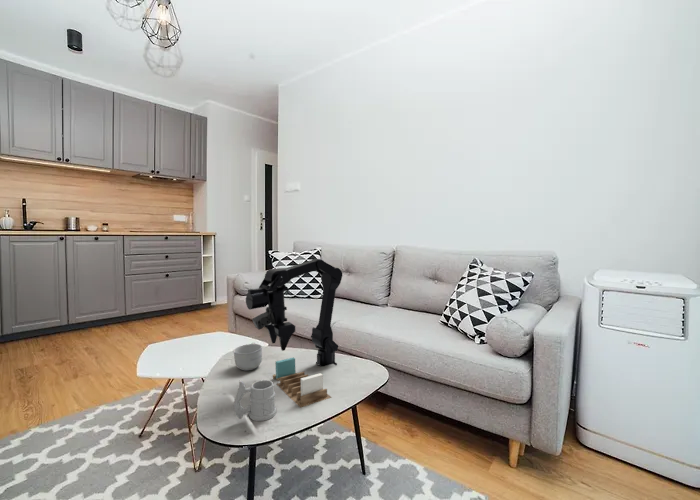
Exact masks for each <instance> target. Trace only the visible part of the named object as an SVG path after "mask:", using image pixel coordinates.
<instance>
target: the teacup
mask: <svg viewBox="0 0 700 500" xmlns="http://www.w3.org/2000/svg"><path fill="white" fill-rule="evenodd" d="M262 349H263V347H262V345H261V344H259V343H256V342H252V343H248V344H242V345H239V346H237V347H235V348H234V349H233V351H232V352H233V356H234V358H233V359H234V364H235V366H236V368H238V369H240V370H241V371H251V370H255V369H257V368H258V367H259V366H260V365H261V363H262V361H263V350H262Z"/></svg>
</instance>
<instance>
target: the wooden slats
mask: <svg viewBox="0 0 700 500" xmlns="http://www.w3.org/2000/svg"><path fill="white" fill-rule="evenodd" d="M296 373H297V372H295V374H296ZM292 375H293V374H292ZM288 376H289V375H288ZM284 377H285V376H284ZM280 378H281V377H280ZM280 378H276V373H275V374H272V380H276V381H279V382H280Z"/></svg>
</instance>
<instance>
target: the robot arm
mask: <svg viewBox="0 0 700 500" xmlns="http://www.w3.org/2000/svg"><path fill="white" fill-rule="evenodd" d="M312 272H317V274H319V275H320V276H321V283H322V284H321V285H322V287H323V291H322V292H323V293H322V299H321V303H320V304H321V305H320V311H319V319H318V324H317V325H316V327H312V329H311V335H310V338H311V342H312V343H313V344H314V346H315V348H316V349H317V353H316V361H315V364H316V365H318V366H319V367H321V368H322V367H327V366H331V365H335V366H337V365H338V363H337V362H336V352H337V351H338V349H339V344H338V343H336V342H335V341H334V332H333V329H332V326H331V325H332V319H333V312H334V304H335V300H336V299H335V298H336V297H335V296H336V292H337V290H338V288H339V286H340V285H341V282H342V278H343V271H342V270H341V268H339V267H335V266H334V265H331V264H329V263H327V262H326V261H324V260H323V259H321V258H313V259H311V260H307V261H305V262H301V263H299V264H298V263H297V264H295V265H292V266H289V267H284V268H282V267H280V268H279V267H278V268H277V267H276V268H270V269H268V270H266V272H265V274H264V278H263V280H262V282H261V283H260V284H259V286H258V287H257V288H250V289H249V288H248V290H247V293H246V296H245V304H246V307H247V309H248V310H255V309H260V308H265V307H266V308H265V312H263V313H261V314H259V315H257V316H254V318H252V319H251V320H252V322H253V324H254V326H255V328H256V329H258V330H262V329H263V328H266V330H267V332H268V334H269V338H270V340H271V344H276V341H277V338H278V339H279V345H280V349H281V351H282V352H283V351H285V350H286V348H287V347H288V346H287V345H288V344H289V341H290V339H291V338H292V335H293V334H294V333H295V332H296V325H294V323H292V322H290V321H288V318H287V317H286V311H287V310H288V309H287V308H288V307H287V306H285V292H288V291H291V290H290V288H289V287H288V286H286V285H287V283H289V282H290V281H291V280H292V279H295V278H297V277H300V276H304V275H306V274H309V273H312Z"/></svg>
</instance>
